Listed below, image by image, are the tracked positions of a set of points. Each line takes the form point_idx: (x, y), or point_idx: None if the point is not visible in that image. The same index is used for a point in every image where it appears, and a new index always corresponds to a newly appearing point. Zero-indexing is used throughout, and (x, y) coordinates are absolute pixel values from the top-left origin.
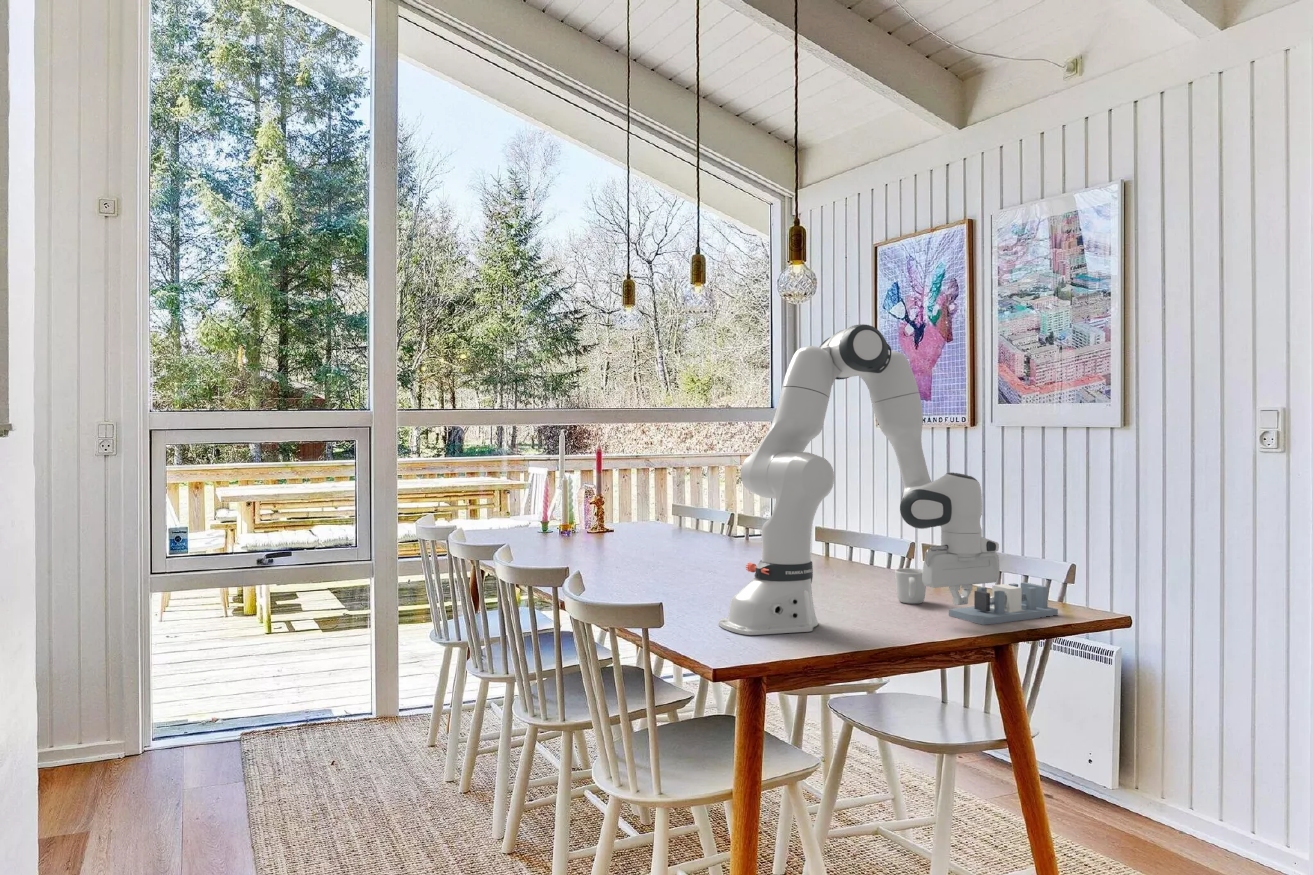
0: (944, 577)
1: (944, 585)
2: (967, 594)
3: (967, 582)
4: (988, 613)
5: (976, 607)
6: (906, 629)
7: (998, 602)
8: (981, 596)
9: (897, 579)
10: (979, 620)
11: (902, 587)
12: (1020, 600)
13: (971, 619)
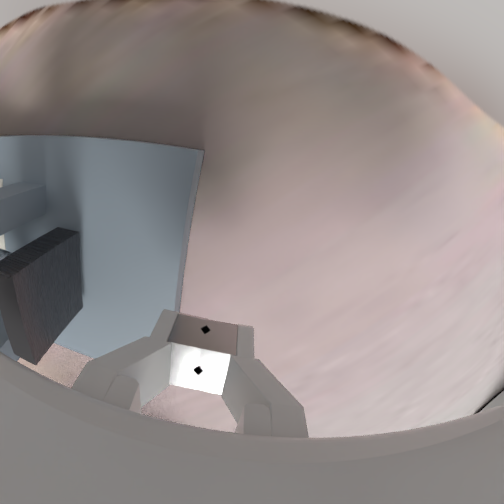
0: (491, 474)
1: (462, 425)
2: (153, 351)
3: (161, 440)
4: (74, 220)
5: (77, 299)
6: (477, 303)
7: (6, 199)
8: (35, 301)
9: None
10: (195, 182)
11: None
12: None
13: (187, 241)
